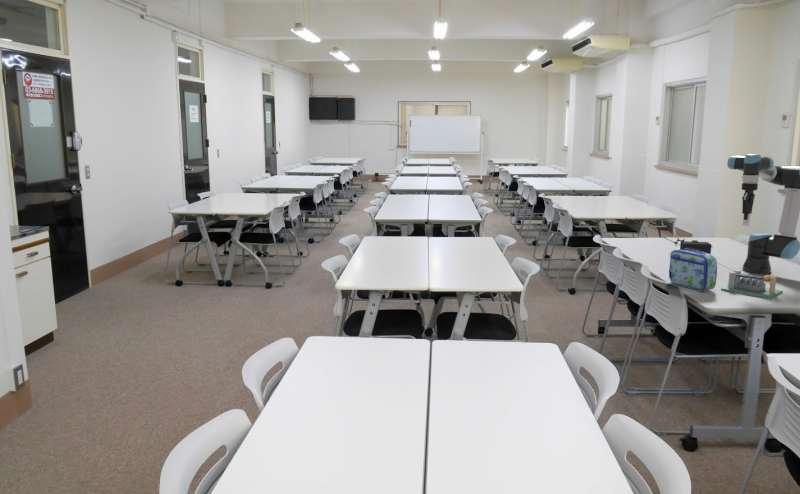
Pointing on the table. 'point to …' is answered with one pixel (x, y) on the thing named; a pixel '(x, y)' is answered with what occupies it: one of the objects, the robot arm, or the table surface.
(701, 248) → the router
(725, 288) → the board
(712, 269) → the lunch box
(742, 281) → the heatsink
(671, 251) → the molecular model
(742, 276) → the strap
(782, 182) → the robot arm
